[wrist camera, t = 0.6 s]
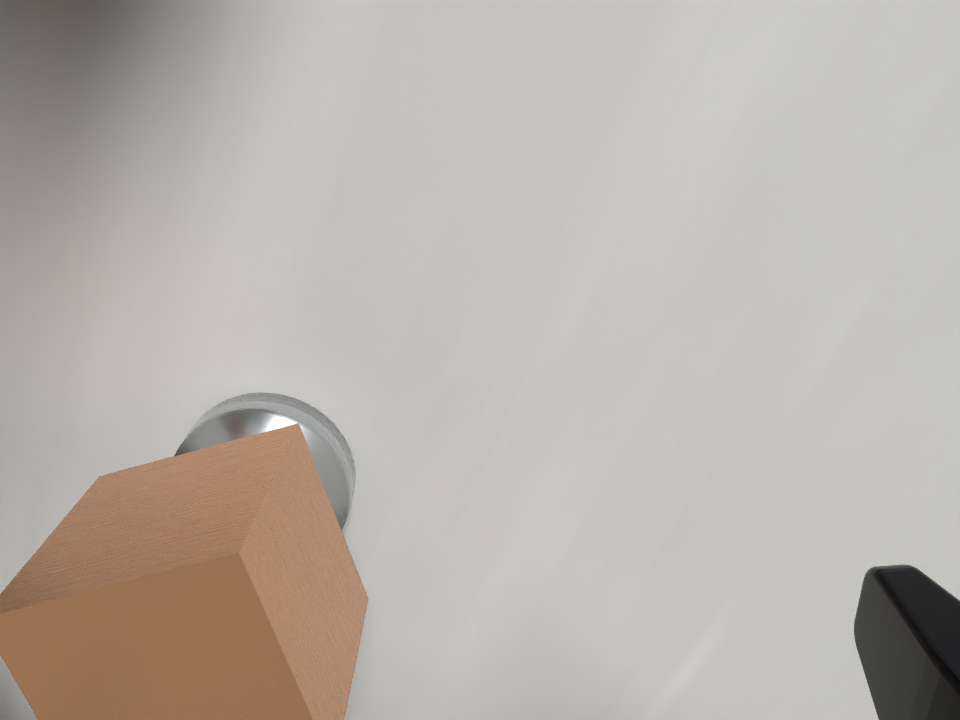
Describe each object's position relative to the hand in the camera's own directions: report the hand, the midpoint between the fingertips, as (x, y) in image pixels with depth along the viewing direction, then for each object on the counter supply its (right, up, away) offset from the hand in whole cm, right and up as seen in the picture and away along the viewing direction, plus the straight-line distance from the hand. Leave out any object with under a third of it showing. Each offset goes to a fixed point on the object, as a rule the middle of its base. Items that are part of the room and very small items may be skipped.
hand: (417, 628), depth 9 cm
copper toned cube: (-5, 0, +14) cm, 15 cm away
